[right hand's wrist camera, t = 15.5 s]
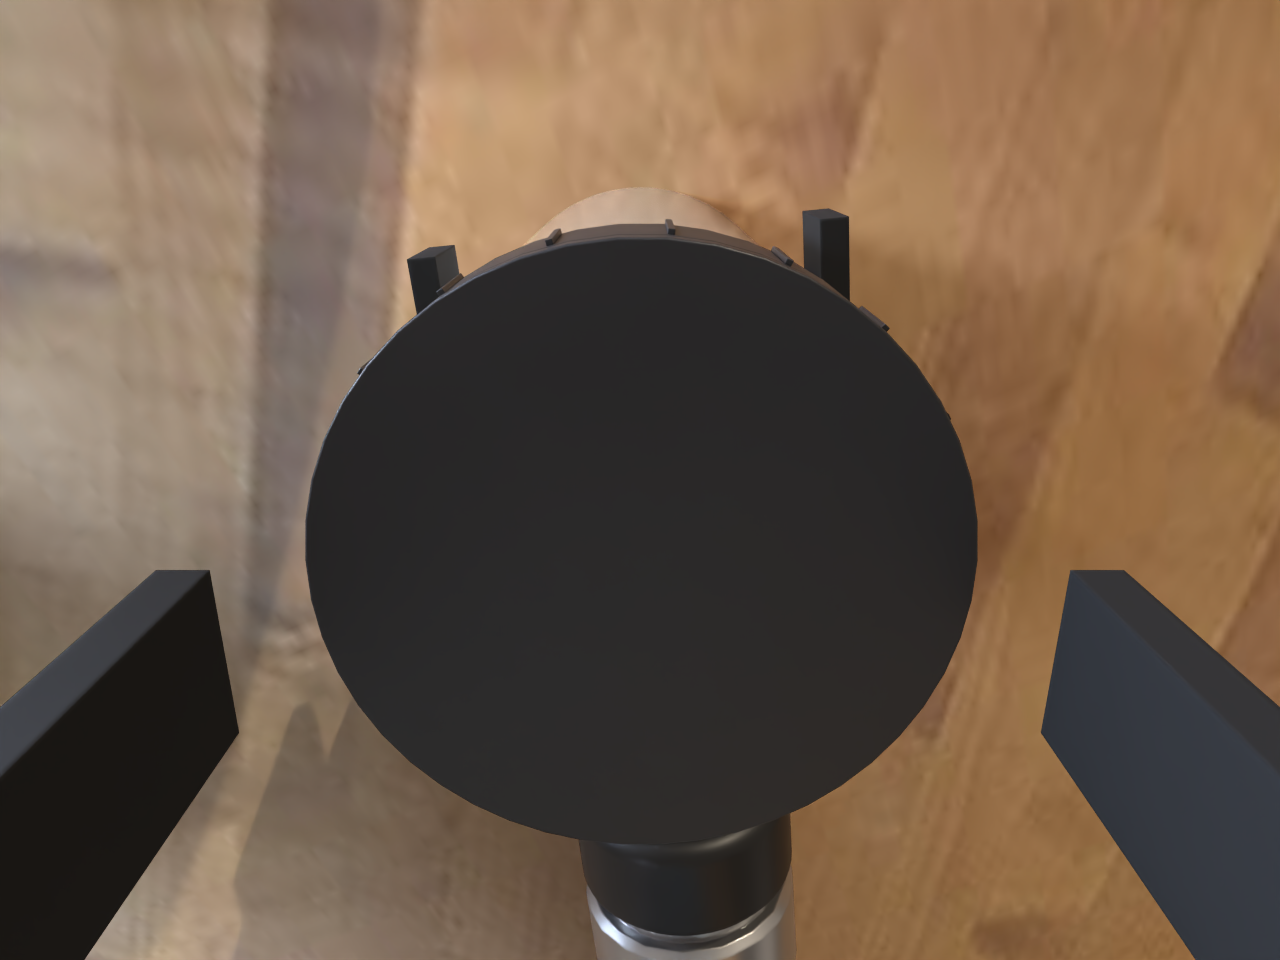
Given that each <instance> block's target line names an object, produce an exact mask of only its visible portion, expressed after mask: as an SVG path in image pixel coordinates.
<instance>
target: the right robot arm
mask: <svg viewBox="0 0 1280 960" xmlns="http://www.w3.org/2000/svg"><path fill="white" fill-rule="evenodd" d="M238 733H239V730H238V724H237V719H236V713H235V708H234V702H233V697H232V691H231V686H230V680H229V675H228V669H227V664H226V658H225V653H224V647H223V642H222V636H221V631H220V625H219V620H218V614H217V609H216V603H215V598H214V592H213V587H212V581H211V576H210V570H156V571H154V572H153V573H152V574H151V575H150V576H149V577H148V578H147V579H145V580H144V581H143V582H142V583H141V584H140V585H139V586H137V587H136V588H135V589H134V590H133V591H132V592H131V593H129V594H128V595H127V596H126V597H125V598H124V599H123V600H122V601H120V602H119V603H118V604H117V605H116V606H115V607H114V608H112V609H111V610H110V611H109V612H108V613H107V614H106V615H104V616H103V617H102V618H101V619H100V620H99V621H98V622H97V623H95V624H94V625H93V626H92V627H91V628H90V629H89V630H87V631H86V632H85V633H84V634H83V635H82V636H81V637H79V638H78V639H77V640H76V641H75V642H74V643H73V644H72V645H70V646H69V647H68V648H67V649H66V650H65V651H64V652H62V653H61V654H60V655H59V656H58V657H57V658H56V659H54V660H53V661H52V662H51V663H50V664H49V665H48V666H47V667H45V668H44V669H43V670H42V671H41V672H40V673H39V674H37V675H36V676H35V677H34V678H33V679H32V680H31V681H29V682H28V683H27V684H26V685H25V686H24V687H23V688H22V689H20V690H19V691H18V692H17V693H16V694H15V695H14V696H12V697H11V698H10V699H9V700H8V701H7V702H6V703H4V704H3V705H2V706H1V707H0V960H85V958H86V957H87V955H88V954H89V952H90V951H91V949H92V948H93V946H94V945H95V943H96V942H97V940H98V939H99V937H100V936H101V935H102V933H103V932H104V930H105V929H106V927H107V926H108V924H109V923H110V921H111V920H112V918H113V917H114V915H115V914H116V913H117V911H118V910H119V908H120V907H121V905H122V904H123V902H124V901H125V899H126V898H127V896H128V895H129V893H130V892H131V891H132V889H133V888H134V886H135V885H136V883H137V882H138V880H139V879H140V877H141V876H142V874H143V873H144V871H145V870H146V869H147V867H148V866H149V864H150V863H151V861H152V860H153V858H154V857H155V855H156V854H157V852H158V851H159V849H160V848H161V846H162V845H163V844H164V842H165V841H166V839H167V838H168V836H169V835H170V833H171V832H172V830H173V829H174V827H175V826H176V824H177V823H178V822H179V820H180V819H181V817H182V816H183V814H184V813H185V811H186V810H187V808H188V807H189V805H190V804H191V802H192V801H193V800H194V798H195V797H196V795H197V794H198V792H199V791H200V789H201V788H202V786H203V785H204V783H205V782H206V780H207V779H208V778H209V776H210V775H211V773H212V772H213V770H214V769H215V767H216V766H217V764H218V763H219V761H220V760H221V758H222V757H223V756H224V754H225V753H226V751H227V750H228V748H229V747H230V745H231V744H232V742H233V741H234V739H235V738H236V736H237V735H238ZM1041 733H1042V735H1043V736H1044V738H1045V739H1046V741H1047V742H1048V744H1049V745H1050V747H1051V748H1052V750H1053V751H1054V753H1055V754H1056V756H1057V757H1058V758H1059V760H1060V761H1061V763H1062V764H1063V766H1064V767H1065V769H1066V770H1067V772H1068V773H1069V775H1070V776H1071V778H1072V779H1073V780H1074V782H1075V783H1076V785H1077V786H1078V788H1079V789H1080V791H1081V792H1082V794H1083V795H1084V797H1085V798H1086V800H1087V801H1088V802H1089V804H1090V805H1091V807H1092V808H1093V810H1094V811H1095V813H1096V814H1097V816H1098V817H1099V819H1100V820H1101V822H1102V823H1103V824H1104V826H1105V827H1106V829H1107V830H1108V832H1109V833H1110V835H1111V836H1112V838H1113V839H1114V841H1115V842H1116V844H1117V845H1118V846H1119V848H1120V849H1121V851H1122V852H1123V854H1124V855H1125V857H1126V858H1127V860H1128V861H1129V863H1130V864H1131V866H1132V867H1133V869H1134V870H1135V871H1136V873H1137V874H1138V876H1139V877H1140V879H1141V880H1142V882H1143V883H1144V885H1145V886H1146V888H1147V889H1148V891H1149V892H1150V893H1151V895H1152V896H1153V898H1154V899H1155V901H1156V902H1157V904H1158V905H1159V907H1160V908H1161V910H1162V911H1163V913H1164V914H1165V915H1166V917H1167V918H1168V920H1169V921H1170V923H1171V924H1172V926H1173V927H1174V929H1175V930H1176V932H1177V933H1178V935H1179V936H1180V937H1181V939H1182V940H1183V942H1184V943H1185V945H1186V946H1187V948H1188V949H1189V951H1190V952H1191V954H1192V955H1193V957H1194V958H1195V960H1280V707H1279V706H1278V705H1277V704H1276V703H1274V702H1273V701H1272V700H1271V699H1270V698H1269V697H1268V696H1266V695H1265V694H1264V693H1263V692H1262V691H1261V690H1260V689H1258V688H1257V687H1256V686H1255V685H1254V684H1253V683H1252V682H1251V681H1249V680H1248V679H1247V678H1246V677H1245V676H1244V675H1243V674H1241V673H1240V672H1239V671H1238V670H1237V669H1236V668H1235V667H1233V666H1232V665H1231V664H1230V663H1229V662H1228V661H1227V660H1226V659H1224V658H1223V657H1222V656H1221V655H1220V654H1219V653H1218V652H1216V651H1215V650H1214V649H1213V648H1212V647H1211V646H1210V645H1208V644H1207V643H1206V642H1205V641H1204V640H1203V639H1202V638H1201V637H1199V636H1198V635H1197V634H1196V633H1195V632H1194V631H1193V630H1191V629H1190V628H1189V627H1188V626H1187V625H1186V624H1185V623H1183V622H1182V621H1181V620H1180V619H1179V618H1178V617H1177V616H1176V615H1174V614H1173V613H1172V612H1171V611H1170V610H1169V609H1168V608H1166V607H1165V606H1164V605H1163V604H1162V603H1161V602H1160V601H1158V600H1157V599H1156V598H1155V597H1154V596H1153V595H1152V594H1151V593H1149V592H1148V591H1147V590H1146V589H1145V588H1144V587H1143V586H1141V585H1140V584H1139V583H1138V582H1137V581H1136V580H1135V579H1133V578H1132V577H1131V576H1130V575H1129V574H1128V573H1127V572H1126V571H1124V570H1070V576H1069V581H1068V587H1067V592H1066V598H1065V603H1064V609H1063V614H1062V620H1061V625H1060V631H1059V636H1058V642H1057V647H1056V653H1055V658H1054V664H1053V669H1052V675H1051V680H1050V686H1049V691H1048V697H1047V702H1046V708H1045V713H1044V719H1043V724H1042V730H1041Z"/></svg>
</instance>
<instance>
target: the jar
mask: <svg viewBox="0 0 1280 960" xmlns="http://www.w3.org/2000/svg"><path fill="white" fill-rule="evenodd" d="M665 219H672V221H673V224H674V225H677V226H684V227H691V228H699V229H706V230H710V231H714V232H717V233H721V234H724V235H728V236H731V237H735V238H739V239H742V240H746V241H749V242H751V243H754V244H756V245H758V244H757V243H756V242H755V241H754V240H753V239H752V238H751V237H750V236H749V235H748V234H747V233H746V232H744V231H743V230H742V229H741V228H740V227H739V226H738V225H737V224H736V223H734V222H733V221H732V220H731V219H730V218H728V217H727V216H726V215H725V214H723V213H722V212H720V211H719V210H717V209H715V208H714V207H712V206H711V205H709V204H707V203H705V202H703V201H701V200H698V199H696V198H694V197H692V196H689V195H686V194H682V193H679V192H675V191H672V190H666V189H659V188H652V187H631V188H623V189H616V190H611V191H607V192H603V193H600V194H596V195H593V196H591V197H588V198H586V199H584V200H582V201H579V202H577V203H575V204H573V205H572V206H570V207H568V208H567V209H565V210H563V211H562V212H560V213H559V214H557V215H556V216H555V217H554V218H553V219H551V220H550V221H549V222H548V223H546V224H545V225H544V226H543V227H542V228H541V229H540V230H539V231H538V232H537V233H536V234H535V235H534V236H533V237H531V238H530V239H529V240H528V241H527V242H526V243H525V244H524V245H523V246H525V245H527V244H529V243H532V242H534V241H537V240H541V239H544V238H548V237H549V235H550V234H551V233H552V232H553V231H554V230H555V229H559V228H560V229H561V232H562V233H566V232H569V231H573V230H577V229H584V228H591V227H599V226H606V225H614V224H665ZM758 246H759V245H758Z"/></svg>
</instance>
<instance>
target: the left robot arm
mask: <svg viewBox="0 0 1280 960" xmlns="http://www.w3.org/2000/svg"><path fill="white" fill-rule="evenodd" d="M803 243H804V269H806V270H808V271H809V272H811V273H813V274H814V275H816V276H817V277H819V278H821V279H822V280H824V281H825V282H826V283H828V284H829V285H830V286H831V287H833V288H834V289H835V290H836V291H838V292H839V293H840V294H841V295H843V296H844V297H845V298H846V299H847V300H849V301H850V280H849V217H848V216H846V215H843V214H841V213H839V212H836V211H834V210H831V209H819V210H809V211H803ZM407 263H408V268H409V274H410V279H411V285H412V290H413V296H414V301H415V306H416V312H417V314H419V313H420V312H421V311H422V310H423V309H425V308H426V307H427V306H428V305H430V304H431V303H432V302H433V301H434V300H436V299H437V298H438V297H439V295H438V294H437V291H438V290H439V289H440V288H442V287H443V286H444V285H446V284H447V283H448V282H449V281H451V280H452V279H453V278H455V277H456V276H457V275H459V269H458V263H457V257H456V251H455V245H449V246H439V247H429V248H427V249H425V250H424V251H422V252H420V253H418V254H416V255H414V256H413V257H411V258H409V259H407ZM579 844H580V851H581V858H582V864H583V870H584V876H585V879H586V882H587V891H586V893H587V900H588V906H589V912H590V918H591V924H592V930H593V936H594V942H595V948H596V954H597V960H796V932H795V913H794V894H793V877H792V867H791V853H792V848H791V826H790V813H789V814H787V815H785V816H782V817H780V818H778V819H776V820H773V821H771V822H767V823H764V824H761V825H758V826H755V827H752V828H749V829H746V830H743V831H740V832H737V833H732V834H727V835H722V836H718V837H713V838H708V839H703V840H698V841H689V842H679V843H669V844H613V843H604V842H595V841H585V840H579Z"/></svg>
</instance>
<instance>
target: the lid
mask: <svg viewBox="0 0 1280 960" xmlns="http://www.w3.org/2000/svg"><path fill="white" fill-rule="evenodd" d="M437 294H438V295H439V297H438V298H437V299H436V300H434V301H433V302H432V303H431V304H430V305H428V306H427V307H426V308H425V309H423V310H422V311H421V312H420V313H419V314H417V315H416V316H415V317H414V318H412V319H411V320H410V321H409V322H408V323H406V324H405V325H404V326H403V327H401V328H400V329H399V330H398V331H397V332H396V333H395V334H394V335H393V336H392V337H391V338H390V340H389V341H388V342H387V343H386V344H385V345H384V346H383V347H382V348H381V349H380V351H379V352H378V353H377V354H376V355H375V356H374V357H373V358H372V359H371V360H370V361H368V362H367V363H366V364H365V365H364V366H362V367H361V368H360V369H359V371H358V372H357V373H358V374H359V377H358V378H357V380H356V381H355V383H354V384H353V386H352V387H351V389H350V390H349V392H348V393H347V395H346V396H345V398H344V399H343V400H342V403H341V405H340V407H339V409H338V411H337V413H336V415H335V417H334V419H333V421H332V423H331V426H330V428H329V430H328V432H327V434H326V436H325V438H324V441H323V444H322V447H321V450H320V454H319V457H318V460H317V463H316V467H315V470H314V473H313V476H312V480H311V487H310V493H309V500H308V507H307V513H306V550H305V560H306V567H307V574H308V581H309V588H310V595H311V601H312V604H313V607H314V611H315V614H316V618H317V621H318V625H319V628H320V631H321V635H322V638H323V640H324V642H325V645H326V647H327V649H328V651H329V654H330V656H331V658H332V660H333V662H334V665H335V667H336V669H337V671H338V673H339V675H340V677H341V678H342V680H343V681H344V683H345V685H346V686H347V688H348V689H349V691H350V693H351V694H352V696H353V698H354V699H355V701H356V702H357V704H358V706H359V707H360V708H361V709H362V711H363V712H364V713H365V714H366V715H367V717H368V718H369V719H370V720H371V722H372V723H373V724H374V725H375V727H376V728H377V729H378V730H379V731H380V733H381V734H382V735H383V736H384V737H385V738H386V739H387V740H388V741H389V742H390V743H391V744H392V745H393V746H394V747H395V748H396V749H397V750H398V751H399V752H400V753H402V754H403V755H404V756H405V757H406V758H407V759H408V760H409V761H410V762H411V763H412V764H414V765H415V766H416V767H418V768H419V769H420V770H422V771H423V772H424V773H426V774H427V775H428V776H430V777H431V778H432V779H434V780H435V781H436V782H437V783H439V784H440V785H442V786H443V787H445V788H447V789H448V790H450V791H452V792H453V793H455V794H457V795H459V796H460V797H462V798H464V799H465V800H467V801H469V802H470V803H472V804H474V805H476V806H478V807H480V808H483V809H485V810H487V811H489V812H491V813H494V814H496V815H498V816H500V817H503V818H505V819H507V820H509V821H512V822H516V823H519V824H522V825H525V826H528V827H531V828H534V829H537V830H540V831H543V832H547V833H551V834H556V835H561V836H565V837H570V838H575V839H579V840H585V841H595V842H604V843H613V844H669V843H679V842H689V841H698V840H703V839H708V838H713V837H718V836H722V835H727V834H732V833H737V832H740V831H743V830H746V829H749V828H752V827H755V826H758V825H761V824H764V823H767V822H771V821H773V820H776V819H778V818H780V817H782V816H785V815H787V814H789V813H791V812H794V811H796V810H798V809H800V808H803V807H805V806H807V805H809V804H811V803H812V802H814V801H816V800H817V799H819V798H821V797H823V796H824V795H826V794H828V793H829V792H831V791H833V790H835V789H836V788H838V787H840V786H841V785H843V784H844V783H845V782H847V781H848V780H849V779H851V778H852V777H853V776H855V775H856V774H857V773H859V772H860V771H861V770H863V769H864V768H865V767H867V766H868V765H869V764H871V763H872V762H873V761H874V760H875V759H876V758H877V757H878V756H879V755H880V754H881V753H882V752H883V751H884V750H885V749H887V748H888V747H889V746H890V745H891V744H892V743H893V742H894V741H895V740H896V739H897V738H898V737H899V736H900V735H901V734H902V732H903V731H904V730H905V729H906V728H907V726H908V725H909V724H910V723H911V721H912V720H913V719H914V718H915V717H916V715H917V714H918V713H919V712H920V710H921V709H922V708H923V707H924V705H925V704H926V702H927V701H928V699H929V697H930V696H931V694H932V693H933V691H934V689H935V688H936V686H937V684H938V683H939V681H940V680H941V678H942V676H943V675H944V673H945V671H946V669H947V667H948V664H949V662H950V660H951V658H952V656H953V653H954V651H955V649H956V647H957V645H958V642H959V640H960V638H961V634H962V631H963V628H964V624H965V621H966V617H967V614H968V611H969V607H970V604H971V601H972V594H973V587H974V580H975V574H976V567H977V514H976V507H975V500H974V494H973V487H972V480H971V477H970V473H969V470H968V467H967V464H966V460H965V457H964V454H963V450H962V447H961V444H960V440H959V438H958V436H957V434H956V432H955V430H954V428H953V426H952V423H951V421H950V420H951V418H950V416H949V414H948V413H947V412H946V411H945V409H944V407H943V405H942V402H941V401H940V399H939V398H938V396H937V395H936V393H935V392H934V390H933V389H932V387H931V386H930V384H929V383H928V381H927V380H926V378H925V377H924V375H923V374H922V372H921V371H920V369H919V368H918V366H917V365H916V364H915V363H914V362H913V360H912V359H911V358H910V357H909V356H908V355H907V354H906V353H905V352H904V351H903V349H902V348H901V347H900V346H899V345H898V344H897V343H896V342H895V341H894V339H893V338H892V337H891V336H890V335H889V334H888V333H887V331H888V330H889V327H888V326H887V325H886V324H885V323H883V322H882V321H881V320H880V319H878V318H877V317H876V316H874V315H873V314H872V313H871V312H869V311H868V310H867V309H865V308H864V307H863V306H861V307H860V308H859V309H858V308H857V307H856V306H855V305H854V304H852V303H851V302H850V301H849V300H847V299H846V298H845V297H844V296H843V295H841V294H840V293H839V292H838V291H836V290H835V289H834V288H833V287H831V286H830V285H829V284H828V283H826V282H825V281H824V280H822V279H821V278H819V277H817V276H816V275H814V274H813V273H811V272H809V271H808V270H806V269H804V268H803V267H801V266H799V265H798V264H796V263H795V262H794V261H793V260H792V259H791V258H790V257H788V256H787V255H786V254H785V253H784V252H782V251H781V250H780V249H779V248H777V247H775V246H773V248H772V250H771V251H770V250H767V249H765V248H763V247H761V246H758V245H756V244H754V243H751V242H749V241H746V240H742V239H739V238H735V237H731V236H728V235H724V234H721V233H717V232H714V231H710V230H706V229H699V228H691V227H684V226H677V225H674V224H673V221H672V219H665V224H614V225H606V226H599V227H591V228H584V229H577V230H573V231H569V232H566V233H562V232H561V229H560V228H559V229H555V230H554V231H553V232H552V233H551V234H550V235H549V237H548V238H544V239H541V240H537V241H534V242H532V243H529V244H527V245H525V246H522V247H520V248H518V249H515V250H513V251H511V252H509V253H506V254H504V255H502V256H499V257H497V258H495V259H493V260H492V261H490V262H488V263H487V264H485V265H483V266H482V267H480V268H479V269H477V270H475V271H474V272H472V273H470V274H469V275H467V276H465V277H463V275H462V274H461V273H460V274H459V275H457V276H456V277H455V278H453V279H452V280H451V281H449V282H448V283H447V284H446V285H444V286H443V287H442V288H440V289H439V290H438V291H437Z"/></svg>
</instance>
